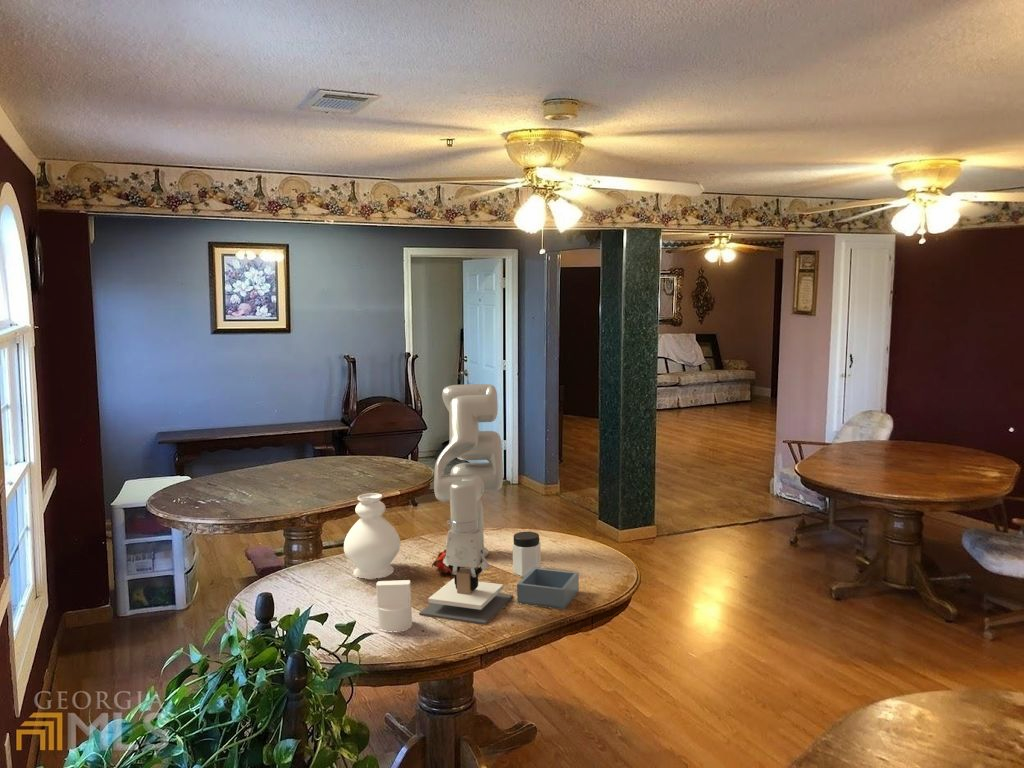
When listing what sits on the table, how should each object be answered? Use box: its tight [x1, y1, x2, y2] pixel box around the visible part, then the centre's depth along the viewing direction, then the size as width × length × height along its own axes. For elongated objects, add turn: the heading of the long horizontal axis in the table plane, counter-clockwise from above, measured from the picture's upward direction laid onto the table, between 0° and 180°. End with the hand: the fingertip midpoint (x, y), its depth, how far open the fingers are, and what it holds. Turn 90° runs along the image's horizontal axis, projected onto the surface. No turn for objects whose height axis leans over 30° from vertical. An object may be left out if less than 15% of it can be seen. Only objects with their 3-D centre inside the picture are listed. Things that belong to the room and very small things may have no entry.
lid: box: [427, 567, 504, 610], centre depth 223 cm, size 16×16×7 cm
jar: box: [512, 531, 542, 578], centre depth 248 cm, size 9×8×12 cm
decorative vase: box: [343, 492, 401, 580], centre depth 251 cm, size 18×18×25 cm
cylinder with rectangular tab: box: [375, 579, 413, 633], centre depth 211 cm, size 9×9×12 cm
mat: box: [418, 592, 514, 626], centre depth 224 cm, size 20×20×1 cm
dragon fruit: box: [431, 548, 466, 576], centre depth 250 cm, size 8×8×12 cm
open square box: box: [516, 567, 580, 610], centre depth 228 cm, size 14×14×6 cm
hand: (466, 587), depth 223 cm, fingers closed on lid, 4 cm apart
